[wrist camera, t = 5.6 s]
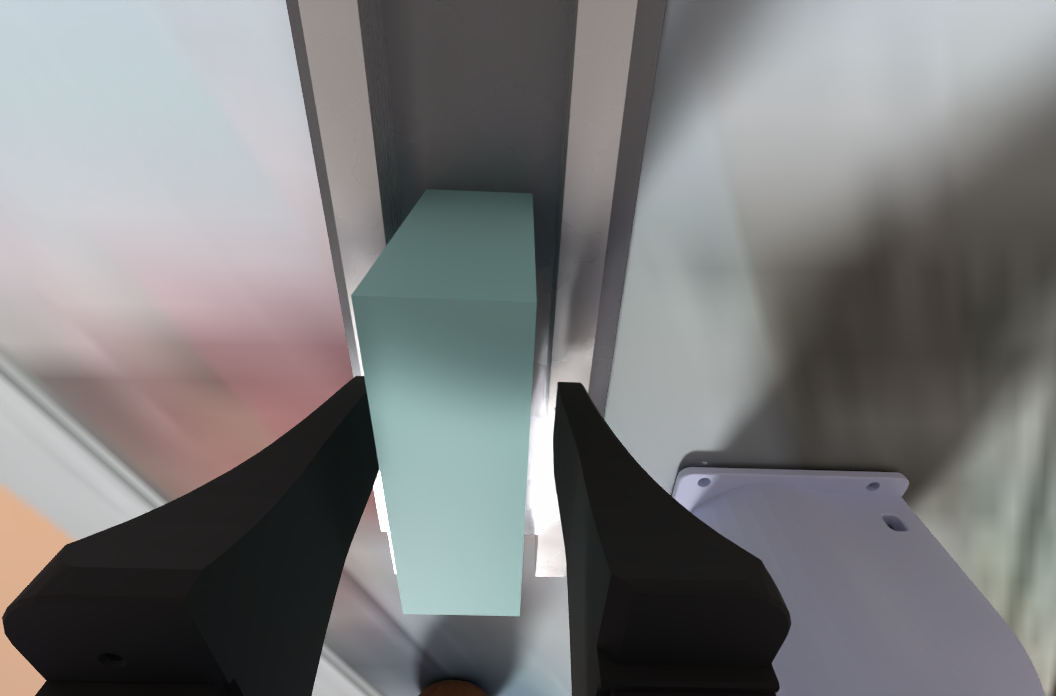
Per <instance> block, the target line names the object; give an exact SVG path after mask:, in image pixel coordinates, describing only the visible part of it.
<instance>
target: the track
mask: <svg viewBox="0 0 1056 696" xmlns="http://www.w3.org/2000/svg"><path fill="white" fill-rule="evenodd" d="M666 1H667V0H286V3H287V9H288V14H289V20H290V26H291V31H292V37H293V42H294V48H295V53H296V59H297V65H298V70H299V76H300V81H301V87H302V92H303V98H304V104H305V109H306V115H307V120H308V126H309V131H310V137H311V143H312V148H313V154H314V159H315V165H316V171H317V176H318V182H319V187H320V193H321V198H322V204H323V210H324V215H325V221H326V226H327V232H328V237H329V243H330V249H331V254H332V260H333V265H334V271H335V276H336V282H337V288H338V293H339V299H340V304H341V310H342V315H343V321H344V327H345V332H346V338H347V343H348V349H349V355H350V360H351V366H352V371H353V377H355V376H364V372H363V366H362V360H361V353H360V347H359V341H358V335H357V329H356V323H355V317H354V311H353V304H352V298H351V295H352V293H353V292H354V291H355V289H356V288H357V286H358V285H359V284H360V282H361V281H362V279H363V278H364V277H365V275H366V274H367V272H368V271H369V270H370V268H371V267H372V265H373V264H374V263H375V261H376V260H377V258H378V257H379V256H380V254H381V253H382V251H383V250H384V248H385V247H386V246H387V244H388V243H389V241H390V240H391V239H392V237H393V236H394V234H395V233H396V232H397V230H398V229H399V227H400V226H401V225H402V223H403V222H404V220H405V219H406V218H407V216H408V215H409V213H410V212H411V211H412V209H413V208H414V206H415V205H416V203H417V202H418V201H419V199H420V198H421V196H422V195H423V194H424V192H425V191H426V189H435V190H460V191H485V192H510V193H533V218H534V244H535V269H536V295H537V307H536V325H535V344H534V362H533V381H532V399H531V418H530V436H529V455H528V473H527V492H526V510H525V528H524V535H535V576H537V577H565V572H566V555H565V546H564V540H563V533H562V526H561V520H560V513H559V506H558V499H557V493H556V486H555V479H554V465H553V431H554V420H555V408H556V396H557V384H558V382H581V383H582V384H583V386H584V387H585V389H586V391H587V393H588V394H589V396H590V398H591V400H592V401H593V403H594V405H595V406H596V408H597V409H598V411H599V413H600V414H601V416H602V417H604V411H605V404H606V398H607V391H608V384H609V378H610V371H611V365H612V358H613V351H614V345H615V338H616V332H617V325H618V318H619V312H620V305H621V298H622V292H623V285H624V279H625V272H626V265H627V259H628V252H629V246H630V239H631V232H632V226H633V219H634V212H635V206H636V199H637V193H638V186H639V179H640V173H641V166H642V160H643V153H644V146H645V140H646V133H647V126H648V120H649V113H650V107H651V100H652V93H653V87H654V80H655V74H656V67H657V60H658V54H659V47H660V40H661V34H662V27H663V21H664V14H665V7H666ZM373 488H374V494H375V499H376V505H377V511H378V516H379V522H380V527H381V531H387V532H388V536H389V542H390V548H391V554H392V560H393V566H394V572H395V573H396V568H395V562H394V556H393V550H392V543H391V537H390V531H389V525H388V519H387V513H386V507H385V501H384V494H383V488H382V482H381V476H380V470H379V473H378V475H377V478H376V481H375V483H374V486H373Z"/></svg>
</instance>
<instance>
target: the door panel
mask: <svg viewBox="0 0 1056 696" xmlns="http://www.w3.org/2000/svg"><path fill="white" fill-rule="evenodd" d="M351 298H352V304H353V311H354V317H355V323H356V329H357V335H358V341H359V347H360V353H361V360H362V366H363V372H364V378H365V384H366V390H367V396H368V402H369V409H370V415H371V421H372V427H373V433H374V439H375V445H376V451H377V458H378V464H379V470H380V476H381V482H382V488H383V494H384V501H385V507H386V513H387V519H388V525H389V531H390V537H391V543H392V550H393V556H394V562H395V568H396V574H397V580H398V586H399V592H400V599H401V605H402V611H403V614H434V615H483V616H520V602H521V584H522V565H523V547H524V528H525V510H526V492H527V473H528V455H529V436H530V418H531V399H532V381H533V362H534V344H535V325H536V307H537V295H536V269H535V244H534V218H533V193H510V192H485V191H460V190H435V189H426V191H425V192H424V194H423V195H422V196H421V198H420V199H419V201H418V202H417V203H416V205H415V206H414V208H413V209H412V211H411V212H410V213H409V215H408V216H407V218H406V219H405V220H404V222H403V223H402V225H401V226H400V227H399V229H398V230H397V232H396V233H395V234H394V236H393V237H392V239H391V240H390V241H389V243H388V244H387V246H386V247H385V248H384V250H383V251H382V253H381V254H380V256H379V257H378V258H377V260H376V261H375V263H374V264H373V265H372V267H371V268H370V270H369V271H368V272H367V274H366V275H365V277H364V278H363V279H362V281H361V282H360V284H359V285H358V286H357V288H356V289H355V291H354V292H353V293H352V295H351Z"/></svg>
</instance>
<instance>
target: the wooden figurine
mask: <svg viewBox="0 0 1056 696" xmlns="http://www.w3.org/2000/svg"><path fill="white" fill-rule="evenodd" d="M419 696H487V694H486V693H485V692H484V691H483V690H482V689H480V688H479V687H478V686H476V685H475V684H473V683H469V682H465V681H459V680H444V681H439V682H436V683H434V684H432V685H430V686H428V687H427V688H426V689H425V690H424V691H423V692H422V693H421V694H420V695H419Z"/></svg>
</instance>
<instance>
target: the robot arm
mask: <svg viewBox="0 0 1056 696" xmlns="http://www.w3.org/2000/svg"><path fill="white" fill-rule="evenodd" d="M553 465H554V479H555V486H556V493H557V499H558V506H559V513H560V520H561V526H562V533H563V540H564V546H565V555H566V565H567V585H568V605H569V628H570V652H571V680H572V696H1045V693H1044V690H1043V688H1042V685H1041V682H1040V680H1039V677H1038V674H1037V672H1036V670H1035V668H1034V666H1033V664H1032V662H1031V660H1030V658H1029V656H1028V654H1027V652H1026V650H1025V649H1024V647H1023V646H1022V644H1021V642H1020V641H1019V639H1018V638H1017V636H1016V635H1015V633H1014V632H1013V631H1012V630H1011V628H1010V627H1009V626H1008V624H1007V623H1006V622H1005V621H1004V619H1003V618H1002V617H1001V616H1000V615H999V613H998V612H997V611H996V610H995V609H994V607H993V606H992V605H991V604H990V603H989V601H988V600H987V599H986V598H985V597H984V595H983V594H982V593H981V592H980V591H979V589H978V588H977V587H976V586H975V585H974V583H973V582H972V581H971V580H970V579H969V577H968V576H967V575H966V574H965V573H964V571H963V570H962V569H961V568H960V567H959V565H958V564H957V563H956V562H955V561H954V559H953V558H952V557H951V556H950V555H949V553H948V552H947V551H946V550H945V549H944V547H943V546H942V545H941V544H940V543H939V541H938V540H937V539H936V538H935V537H934V535H933V534H932V533H931V532H930V531H929V529H928V528H927V527H926V526H925V525H924V523H923V522H922V521H921V520H920V519H919V517H918V516H917V515H916V514H915V513H914V511H913V510H912V509H911V508H910V507H909V505H908V504H907V503H906V502H905V501H904V500H903V498H902V496H903V495H904V493H905V491H906V490H907V488H908V486H909V481H908V480H907V478H906V477H905V476H904V475H903V474H901V473H897V472H861V471H823V470H785V469H747V468H709V467H688V468H685V469H683V470H681V471H680V472H679V474H678V475H677V479H676V483H675V486H674V490H673V494H672V496H671V495H669V494H668V493H667V492H666V491H665V490H664V489H663V488H662V487H661V486H660V485H658V484H657V483H656V482H655V481H654V480H653V479H652V478H651V477H650V476H649V474H648V473H647V472H646V471H645V470H644V469H643V468H642V467H641V466H640V465H639V464H638V463H637V462H636V460H635V459H634V458H633V457H632V456H631V455H630V453H629V452H628V451H627V450H626V448H625V447H624V446H623V445H622V443H621V442H620V441H619V440H618V438H617V437H616V436H615V434H614V433H613V431H612V430H611V429H610V427H609V426H608V424H607V423H606V422H605V420H604V419H603V417H602V416H601V414H600V413H599V411H598V409H597V408H596V406H595V405H594V403H593V401H592V400H591V398H590V396H589V394H588V393H587V391H586V389H585V387H584V386H583V384H582V383H581V382H558V384H557V396H556V408H555V420H554V431H553ZM378 473H379V464H378V458H377V451H376V445H375V439H374V433H373V427H372V421H371V415H370V409H369V402H368V396H367V390H366V384H365V378H364V376H355V377H354V378H353V379H352V380H350V381H349V382H348V383H347V384H346V385H344V386H343V387H342V388H341V389H340V390H339V391H337V392H336V393H335V394H334V395H333V396H332V397H330V398H329V399H328V400H327V401H326V402H325V403H323V404H322V405H321V406H320V407H319V408H317V409H316V410H315V411H314V412H312V413H311V414H310V415H309V416H308V417H306V418H305V419H304V420H303V421H301V422H300V423H299V424H297V425H296V426H295V427H293V428H292V429H291V430H289V431H288V432H287V433H285V434H284V435H283V436H281V437H280V438H279V439H277V440H276V441H275V442H273V443H272V444H271V445H269V446H268V447H266V448H265V449H263V450H262V451H260V452H259V453H257V454H256V455H254V456H253V457H251V458H250V459H248V460H246V461H245V462H243V463H242V464H240V465H238V466H237V467H235V468H233V469H232V470H230V471H228V472H227V473H225V474H223V475H221V476H219V477H217V478H216V479H214V480H212V481H210V482H208V483H206V484H205V485H203V486H201V487H199V488H197V489H195V490H193V491H192V492H190V493H188V494H186V495H184V496H182V497H180V498H178V499H176V500H173V501H171V502H169V503H167V504H165V505H163V506H161V507H159V508H156V509H154V510H152V511H150V512H147V513H145V514H143V515H141V516H138V517H136V518H134V519H131V520H129V521H127V522H124V523H122V524H119V525H116V526H114V527H111V528H109V529H106V530H104V531H101V532H99V533H96V534H93V535H91V536H88V537H86V538H83V539H81V540H78V541H75V542H72V543H70V544H67V545H65V546H64V548H62V550H61V551H60V552H59V553H58V554H57V555H56V556H55V557H54V558H53V559H52V560H51V561H50V562H49V563H48V564H47V565H46V567H45V568H44V569H43V570H42V571H41V572H40V573H39V574H38V575H37V576H36V577H35V578H34V579H33V581H32V582H31V583H30V584H29V585H28V586H27V587H26V588H25V589H24V590H23V591H22V592H21V593H20V595H19V596H18V597H17V598H16V599H15V600H14V601H13V602H12V603H11V604H10V605H9V606H8V607H7V609H6V611H5V613H4V615H3V617H2V619H3V625H4V631H5V634H6V636H7V637H8V639H9V640H10V642H11V643H12V645H13V646H14V647H15V648H16V649H17V650H18V651H19V652H20V653H21V654H22V655H23V656H24V657H25V658H26V659H27V660H28V661H29V662H30V664H31V665H32V666H33V667H34V668H35V669H36V670H37V671H38V672H39V673H40V674H41V675H42V676H43V677H44V678H45V679H46V680H47V681H46V682H45V684H44V685H43V686H42V688H41V689H40V690H39V691H38V693H37V694H36V695H35V696H311V695H312V691H313V686H314V681H315V677H316V673H317V668H318V664H319V660H320V656H321V651H322V647H323V643H324V639H325V634H326V630H327V627H328V623H329V619H330V615H331V611H332V607H333V603H334V599H335V595H336V592H337V588H338V585H339V581H340V577H341V574H342V570H343V566H344V563H345V559H346V556H347V554H348V551H349V548H350V545H351V542H352V539H353V537H354V534H355V532H356V529H357V527H358V524H359V522H360V519H361V517H362V514H363V511H364V509H365V506H366V504H367V501H368V499H369V496H370V494H371V491H372V488H373V486H374V483H375V481H376V478H377V475H378ZM702 478H705V479H702ZM700 479H702V480H700Z"/></svg>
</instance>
